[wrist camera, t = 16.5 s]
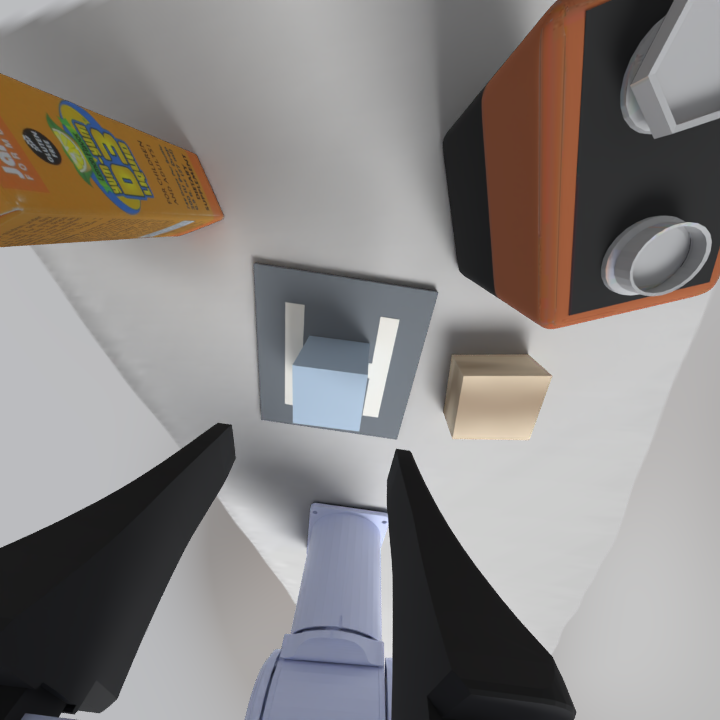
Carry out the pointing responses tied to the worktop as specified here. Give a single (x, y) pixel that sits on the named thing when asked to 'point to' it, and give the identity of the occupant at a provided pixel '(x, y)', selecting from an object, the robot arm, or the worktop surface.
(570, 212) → the battery
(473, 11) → the worktop surface
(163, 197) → the supplement box
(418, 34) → the worktop surface
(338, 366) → the blue cube
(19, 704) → the robot arm
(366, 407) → the letter mat
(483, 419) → the oak block
